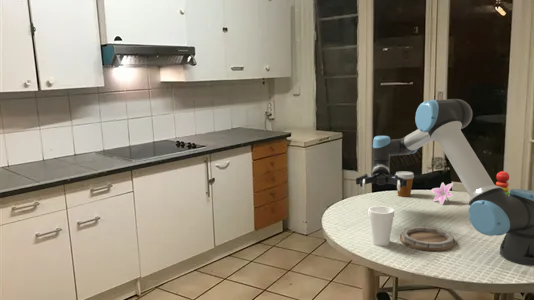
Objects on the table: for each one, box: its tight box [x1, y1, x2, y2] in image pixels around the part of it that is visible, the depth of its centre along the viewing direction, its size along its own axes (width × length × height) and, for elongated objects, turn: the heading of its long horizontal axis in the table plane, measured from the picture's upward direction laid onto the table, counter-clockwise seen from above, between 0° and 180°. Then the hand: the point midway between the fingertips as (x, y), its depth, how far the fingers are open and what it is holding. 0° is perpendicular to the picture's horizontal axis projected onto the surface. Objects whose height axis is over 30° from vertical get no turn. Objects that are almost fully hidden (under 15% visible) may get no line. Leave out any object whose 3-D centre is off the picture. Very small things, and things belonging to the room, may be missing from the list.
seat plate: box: [399, 226, 457, 253], centre depth 165 cm, size 20×20×2 cm
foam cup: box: [367, 205, 395, 247], centre depth 164 cm, size 10×9×13 cm
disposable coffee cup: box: [395, 170, 415, 198], centre depth 226 cm, size 10×10×12 cm
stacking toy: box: [495, 170, 510, 196], centre depth 195 cm, size 8×8×19 cm
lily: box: [431, 182, 454, 206], centre depth 214 cm, size 12×12×10 cm
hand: (381, 187), depth 171 cm, fingers open, 13 cm apart
